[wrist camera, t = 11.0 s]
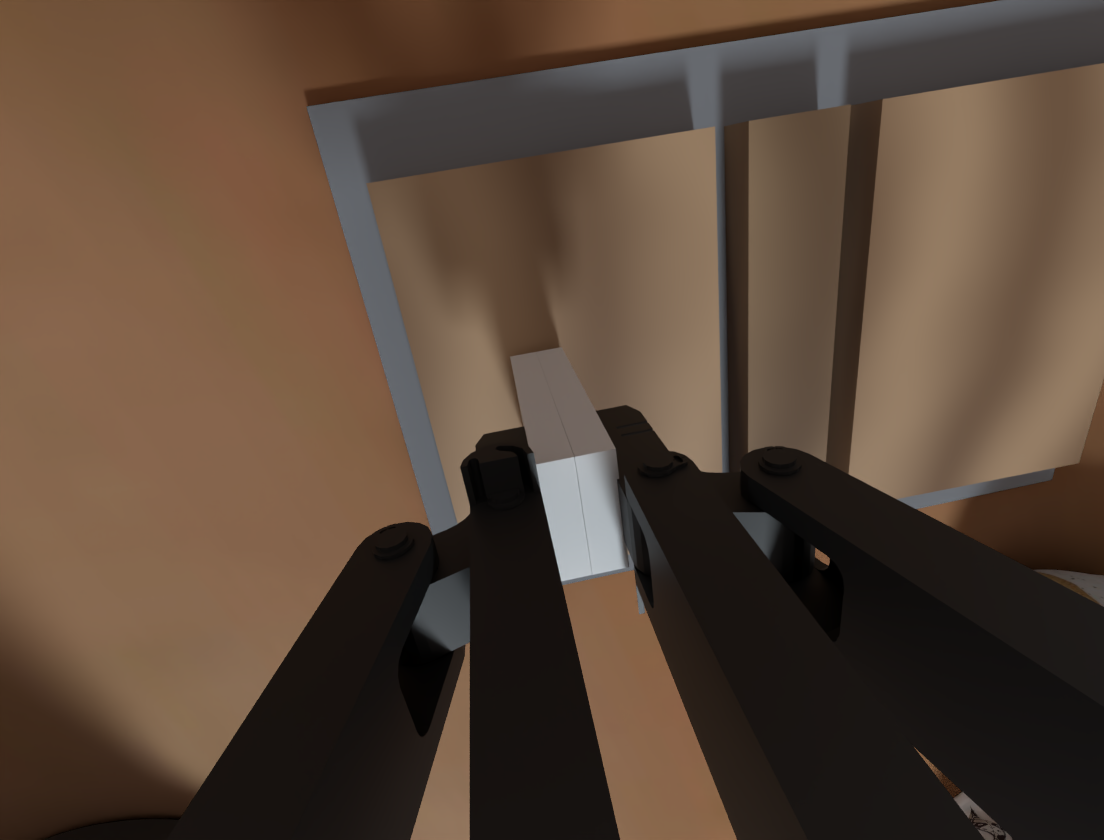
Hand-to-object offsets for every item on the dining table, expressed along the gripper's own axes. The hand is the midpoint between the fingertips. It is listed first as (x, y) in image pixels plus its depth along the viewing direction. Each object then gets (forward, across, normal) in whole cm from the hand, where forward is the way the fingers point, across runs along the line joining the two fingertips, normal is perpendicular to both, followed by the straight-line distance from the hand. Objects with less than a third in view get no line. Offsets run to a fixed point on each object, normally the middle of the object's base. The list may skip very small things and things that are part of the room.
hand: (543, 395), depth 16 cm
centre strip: (+2, +8, 0) cm, 8 cm away
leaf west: (+2, +1, 0) cm, 2 cm away
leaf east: (+2, +15, 0) cm, 15 cm away
